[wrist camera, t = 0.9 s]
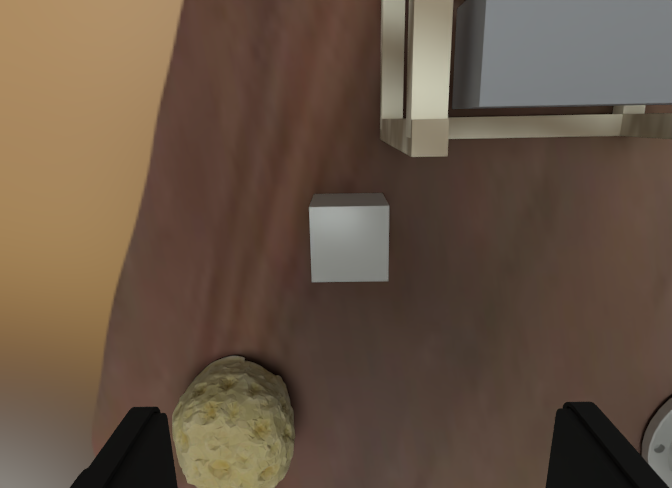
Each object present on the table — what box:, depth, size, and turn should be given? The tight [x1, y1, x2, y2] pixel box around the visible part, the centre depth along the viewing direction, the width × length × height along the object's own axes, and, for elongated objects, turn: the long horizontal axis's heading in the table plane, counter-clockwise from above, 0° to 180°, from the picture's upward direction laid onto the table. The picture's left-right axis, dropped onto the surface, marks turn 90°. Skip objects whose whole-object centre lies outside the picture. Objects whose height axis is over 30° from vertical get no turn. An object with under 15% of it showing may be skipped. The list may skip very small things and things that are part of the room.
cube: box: [309, 193, 389, 282], centre depth 31 cm, size 5×5×5 cm
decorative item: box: [172, 356, 295, 488], centre depth 34 cm, size 10×10×10 cm
